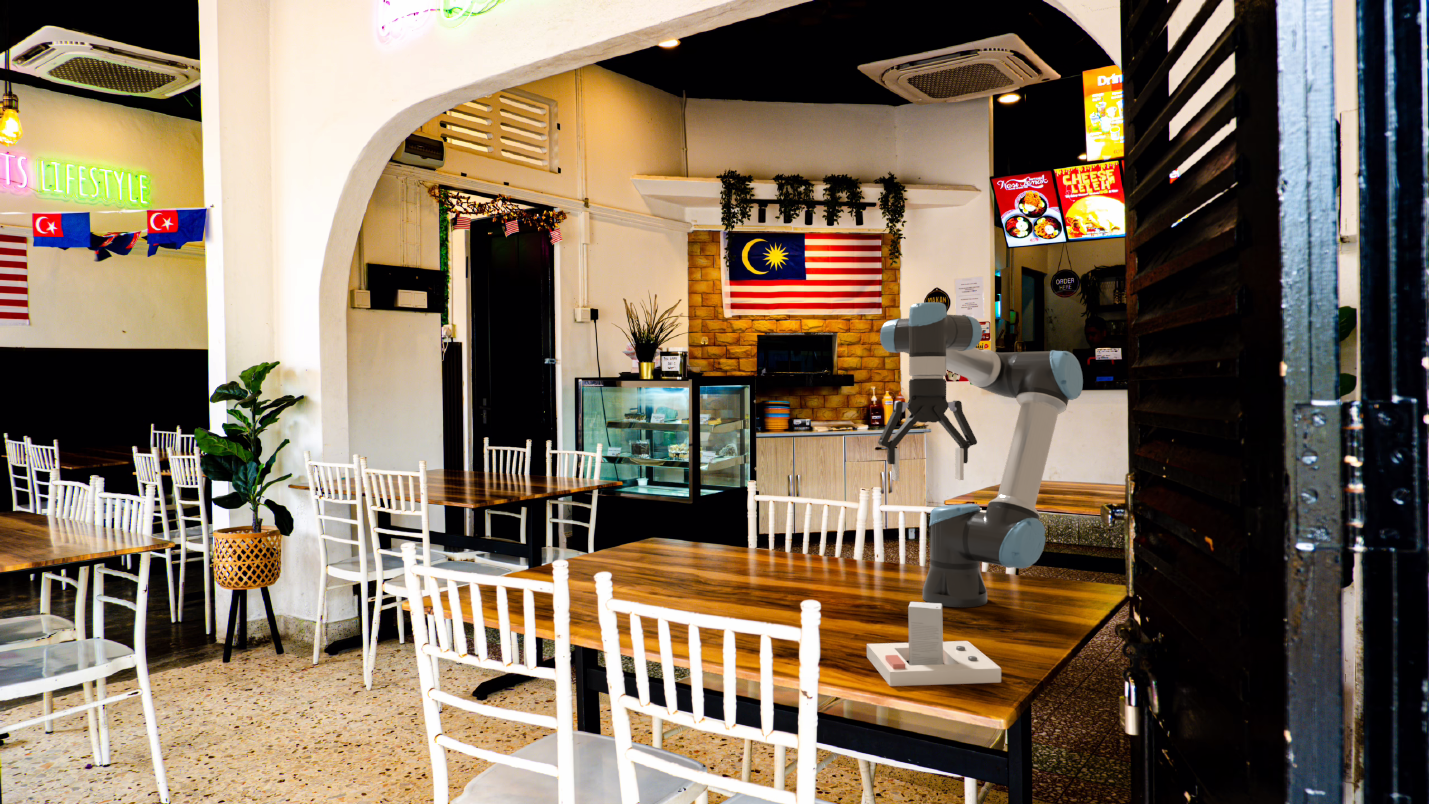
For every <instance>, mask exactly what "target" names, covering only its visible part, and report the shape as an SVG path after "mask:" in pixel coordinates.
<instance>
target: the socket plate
mask: <svg viewBox="0 0 1429 804" xmlns="http://www.w3.org/2000/svg"><path fill="white" fill-rule="evenodd" d="M866 658H867V660H869V662H870V663H871V665H873V667H874V668H875V669H876V670H877V671H878V673H879V674H880V676H881V677H882V678H883V679H884V680H885V682H886V683H887V685H888V686H890V687H900V686H901V687H904V686H906V687H907V686H908V687H909V686H931V685H932V686H933V685H961V684H962V685H964V684H992V683H998V684H999V683H1002V668H1001V667H1000V666H999V665H998V664H997V663H996V662H994V661H993V660H992V659H991V658H989V657H988V656H986V654H984V653H983V652H982V651H980V649H978V648H977V647H976V646H974V645H973V644H972V643H971V642H969V641H968V640H955V641H943V664H940V665H909V642H890V643H889V642H887V643H886V642H885V643H883V642H882V643H866ZM907 661H908V662H907Z"/></svg>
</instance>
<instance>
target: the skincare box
mask: <svg viewBox="0 0 1429 804" xmlns="http://www.w3.org/2000/svg"><path fill="white" fill-rule="evenodd" d="M907 609H908V610H907V611H908V612H907V614H908V615H907V616H908V643H909V661H908V664H909V665H940V664H944V663H943V642H944V639H943V638H944V635H943V634H944V633H943V632H944V631H943V626H944V625H943V606H942V604H941V603H929V602H926V601H925V602H920V601H909V605H908V607H907Z"/></svg>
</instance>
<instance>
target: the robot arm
mask: <svg viewBox="0 0 1429 804" xmlns="http://www.w3.org/2000/svg"><path fill="white" fill-rule="evenodd" d="M908 312H909V314H908V315H909V317H907V318H897V319H891V320H887V321H886V322H884V323H883V325H882V326H881V329H880V335H879V337H880V338H879V339H880V344H881V346H882V348H883V349H884V351H886V352H889V353H896V354H900V353H905V354H908V355H909V356H908V375H909V377H911V378H910V379H909V380H908V402H905V401H904V402H903V401H900V400H895V401H894V402H893V406H892V407H893V408H892V412H891V414H890V416H889V419H888V420H887V423H886V425H885V426H884V429H883V431H882V433H881V435H880V437H879V440H878V442H877V443H878V444H879V446H882V447H885V448H886V450H887V451H886V453H887V454H886V455H887V457H886V459H887V460H886V461H887V464H888V465H891V480H892V481H894V482H899V481H900V448H897V446H898V445H899V444H900V442H901V441H902V440H903V439H904V438H905V436H906V435H907V434H908V432H909V431H910V430H911V429H912V428H913V427H914V426H915V425H916V424H917V423H921V424H924V423H925V424H926V423H935V424H936V423H937V422H938V423H939V424H940V425H941V426H942V427H943V428H944V430H945V431H946V432H947V433H948V435H950V436H951V438H952V439H953V440H954V441H955V443H957V445H958V446H959V447H955V453H954V454H955V456H954V457H955V463H954V465H955V476H954V477H955V480H959V481H964V473H965V472H964V471H965V470H964V464H968V462H969V448H970V447H973V446H975V445H977V443H978V440H977V438H976V436H975V434H974V432H973V429H972V428H971V426H970V424H969V422H968V420H967V418H966V416H965V413H964V412H963V403H962V401H961V400H952V401H947V380H946V378H944V376H945V377H946V376H947V370H948V371H949V372H951V373H954V374H957V375H959V376H961V377H964V378H965V379H967V380H968V382H969V383H970V384H971V385H973V386H974V387H978V388H979V389H982V390H984V391H987V392H990V393H992V394H995V395H998V396H1002V397H1004V398H1005V397H1006V398H1010V399H1016V401H1017V403H1018V404H1019V406H1020V409H1019V411H1018V415H1017V420H1016V423H1015V428H1014V431H1013V435H1012V438H1011V442H1010V447H1009V450H1008V454H1007V456H1006V457H1007V458H1006V462H1005V466H1004V470H1003V472H1002V473H1003V474H1002V478H1001V481H1000V484H999V489H998V492H997V496H996V497H995V498H993V499H991V500H990V501H988V504H987V508H986V511H985V512H982V511H981V507H980V505H979V504H976V503H975V504H974V503H965V504H963V503H962V504H950V505H942V506H941V505H939V506H936V507H934V508H932V510H931V511H930V517H929V518H930V519H929V525H928V526H929V569H928V573H927V575H926V577H925V578H926V579H925V580H924V581H925V582H924V585H923V587H922V599H923V600H924V601H925V602H926V603H941V604H942V607H948V608H949V607H950V608H975V607H981V606H984V605H986V604H987V603H988V591H987V587H986V585H985V582H984V578H983V576H982V572H981V568H980V567H981V566H980V564H981V563H984V564H990V565H996V566H1001V567H1005V568H1007V569H1013V568H1014V569H1015V568H1016V569H1026V568H1027V569H1028V568H1029V567H1031V566H1032V565H1034V564H1036V563H1037V561H1038V560H1039V559H1040V557H1041V555H1042V553H1043V551H1044V548H1045V545H1046V535H1045V534H1046V528H1045V525H1044V523H1043V522H1042V521H1041V520H1040V519H1041V515H1040V513H1039V511H1038V510H1037V509H1036V504H1037V500H1038V496H1039V491H1040V489H1041V485H1042V481H1043V476H1044V472H1045V468H1046V464H1047V460H1048V456H1049V452H1050V448H1051V445H1052V444H1051V443H1052V440H1053V435H1054V431H1055V427H1056V423H1057V420H1058V416H1059V415H1060V414H1062V413H1064V412H1066V411H1067V407H1068V403H1069V400H1070V401H1073V400H1076V399H1078V398H1079V397H1080V395H1081V394H1082V391H1083V384H1084V379H1083V377H1084V376H1083V371H1082V368H1081V364H1080V361H1079V360H1078V359H1077V357H1076V356H1075V355H1074V354H1073V353H1072V352H1070V351H1067V350H1063V351H1062V350H1055V349H1052V350H1050V351H1049V350H1048V351H1046V350H1045V351H1022V352H1021V351H1015V352H997V351H993V350H991V349H979V348H977V346H978V345H979V343H980V342H981V340H982V337H983V328H982V325H981V323H980V321H978V320H977V319H976V318H975V317H973V316H969V315H966V314H962V315H960V314H948V312H947V306H946V304H945V303H943V302H933V301H932V302H919V303H914V304H912V305H911V306H910V308H909V311H908ZM906 409H907V410H908V411H909V413H910V414H909V415H908V416H907V418H906V419H905V421H904V422H903V424H902V425H901V426H900V427H899V429H898V430H897V431H896V432H895V433H894V435H893V436H892V434H893V432H894V430H895V428H896V426H897V424H898V422H899V420H900V418H901V415H902V413H904V412H905V410H906ZM948 409H950V410H949V411H951V412H952V414H953V416H954V418H955V420H956V422H957V424H958V426H959V427H960V428H959V429H960V430H961V432H962V434H963V435H961V433H960V432H959V431H958V429H957V428H956V427H955V426H954V425H953V423H951V421H950V419H949V418H948V416H947V415H946V414H945V413H946V412H947V410H948ZM891 436H892V437H891Z"/></svg>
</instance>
